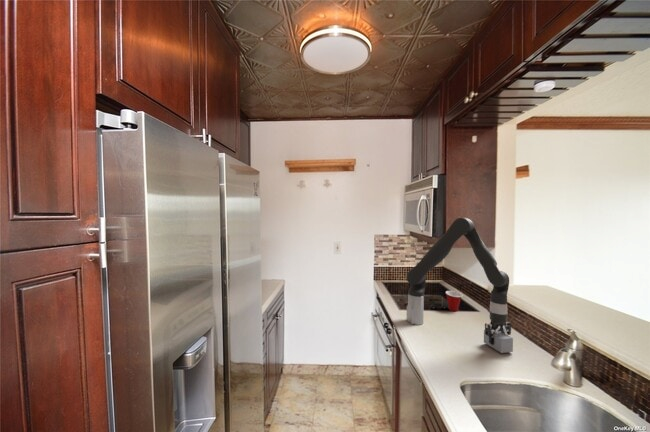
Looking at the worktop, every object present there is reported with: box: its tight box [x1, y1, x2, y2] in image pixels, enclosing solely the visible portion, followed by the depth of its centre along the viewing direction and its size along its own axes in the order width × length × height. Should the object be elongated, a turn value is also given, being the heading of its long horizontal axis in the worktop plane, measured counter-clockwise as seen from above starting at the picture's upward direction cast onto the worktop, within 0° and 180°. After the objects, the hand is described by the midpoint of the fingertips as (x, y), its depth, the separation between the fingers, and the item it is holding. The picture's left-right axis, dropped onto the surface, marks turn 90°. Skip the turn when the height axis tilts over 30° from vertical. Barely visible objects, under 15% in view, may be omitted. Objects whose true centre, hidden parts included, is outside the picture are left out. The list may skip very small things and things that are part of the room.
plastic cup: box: [445, 290, 463, 312], centre depth 187 cm, size 11×11×12 cm
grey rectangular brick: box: [483, 328, 514, 354], centre depth 134 cm, size 7×11×7 cm, turn 12°
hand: (497, 343), depth 134 cm, fingers closed on grey rectangular brick, 6 cm apart
